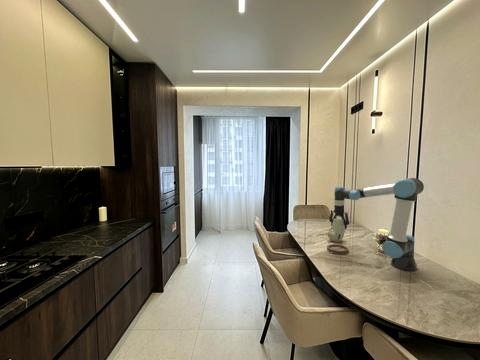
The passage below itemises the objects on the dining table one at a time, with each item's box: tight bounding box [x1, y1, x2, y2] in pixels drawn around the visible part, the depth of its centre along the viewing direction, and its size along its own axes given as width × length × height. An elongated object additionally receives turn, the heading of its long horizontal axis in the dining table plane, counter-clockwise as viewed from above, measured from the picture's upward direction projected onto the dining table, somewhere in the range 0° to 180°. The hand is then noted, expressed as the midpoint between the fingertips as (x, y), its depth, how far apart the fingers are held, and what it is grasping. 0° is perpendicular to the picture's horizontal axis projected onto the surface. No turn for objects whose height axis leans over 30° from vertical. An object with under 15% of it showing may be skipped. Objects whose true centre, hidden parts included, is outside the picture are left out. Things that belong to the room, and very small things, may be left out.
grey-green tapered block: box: [332, 217, 345, 235], centre depth 188 cm, size 9×9×12 cm
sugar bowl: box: [326, 227, 345, 243], centre depth 218 cm, size 20×15×15 cm
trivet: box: [326, 243, 350, 255], centre depth 193 cm, size 17×17×2 cm
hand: (338, 231), depth 189 cm, fingers closed on grey-green tapered block, 9 cm apart
